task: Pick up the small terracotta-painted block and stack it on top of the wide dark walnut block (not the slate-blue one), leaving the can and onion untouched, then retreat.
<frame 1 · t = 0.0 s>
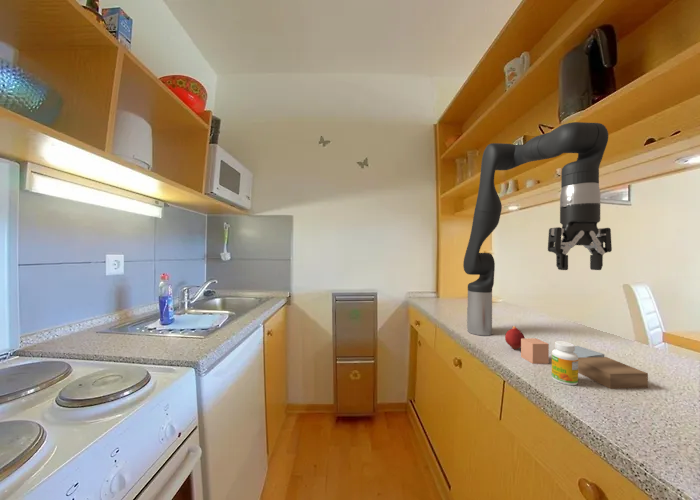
hand: (579, 269, 65), 29 cm above the worktop, fingers open, 8 cm apart
supplement bottle: (564, 381, 69), on the worktop
terracotta block: (534, 360, 82), on the worktop
onion: (514, 349, 91), on the worktop
walnut block: (608, 379, 70), on the worktop
slate block: (582, 364, 80), on the worktop
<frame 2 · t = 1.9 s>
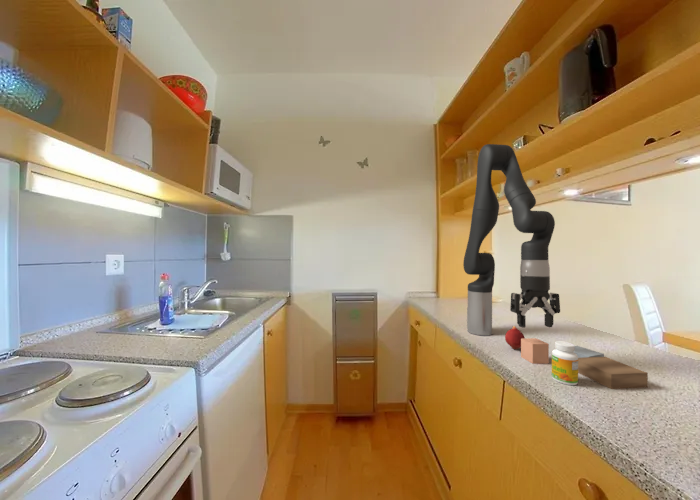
hand: (535, 326, 81), 10 cm above the worktop, fingers open, 8 cm apart
nothing on the worktop moved.
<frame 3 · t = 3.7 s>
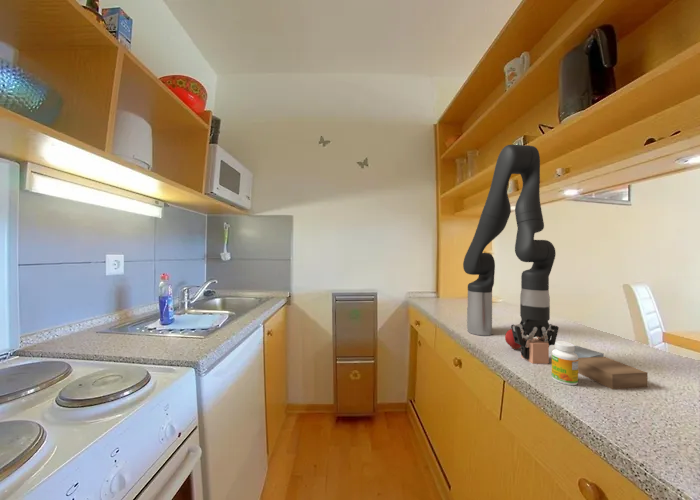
hand: (534, 358, 82), 1 cm above the worktop, fingers closed on terracotta block, 5 cm apart
terracotta block: (534, 360, 82), on the worktop, touching gripper
everything else where it was.
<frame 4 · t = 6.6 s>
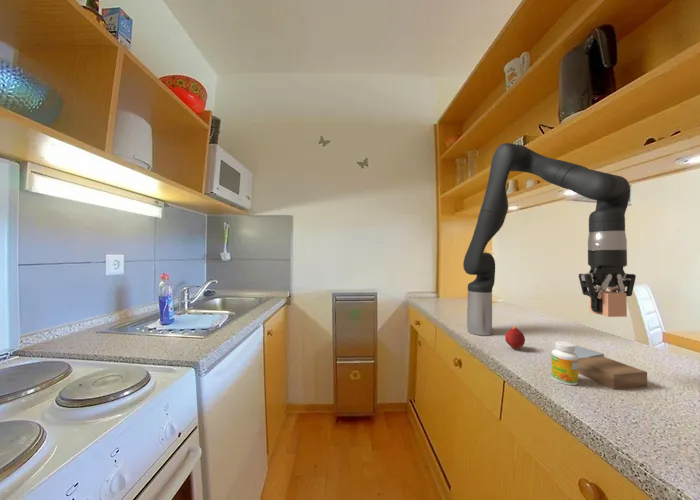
hand: (607, 311, 70), 18 cm above the worktop, fingers closed on terracotta block, 5 cm apart
terracotta block: (607, 314, 70), point 17 cm above the worktop, touching gripper
everything else where it was.
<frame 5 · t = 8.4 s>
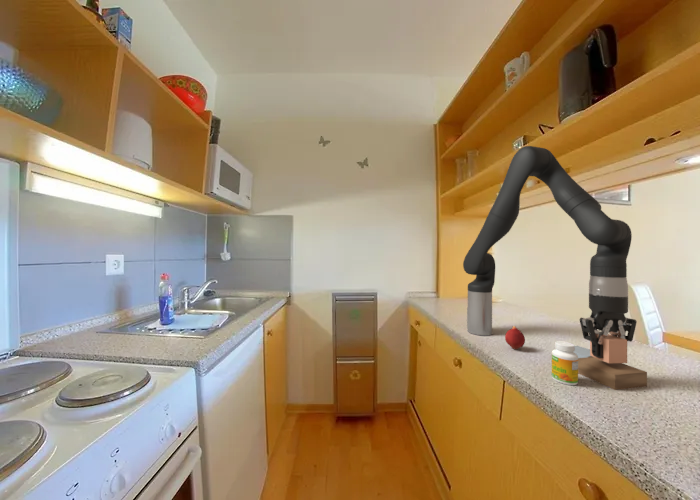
hand: (607, 356, 70), 6 cm above the worktop, fingers closed on terracotta block, 5 cm apart
terracotta block: (608, 359, 70), point 5 cm above the worktop, touching gripper
everything else where it was.
when the fingers open (6 cm above the worktop, at t = 9.5 s): terracotta block drops 1 cm, resting on walnut block.
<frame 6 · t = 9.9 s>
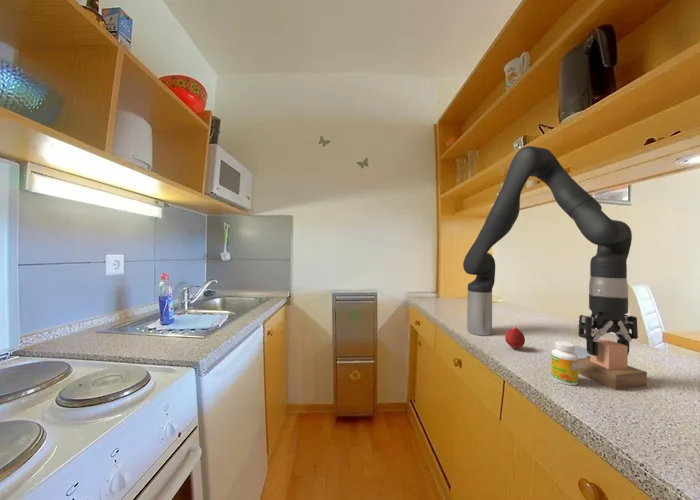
hand: (607, 354, 70), 6 cm above the worktop, fingers open, 8 cm apart
terracotta block: (608, 365, 70), point 4 cm above the worktop, touching walnut block
walnut block: (608, 380, 70), on the worktop, touching terracotta block
everything else where it was.
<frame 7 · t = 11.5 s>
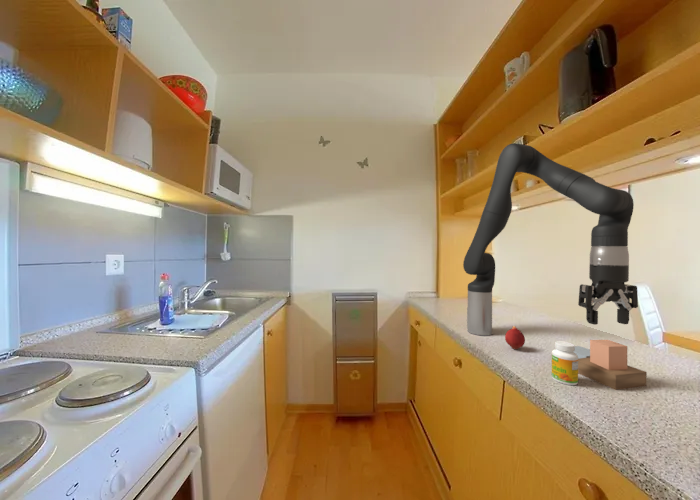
hand: (607, 323, 70), 15 cm above the worktop, fingers open, 8 cm apart
nothing on the worktop moved.
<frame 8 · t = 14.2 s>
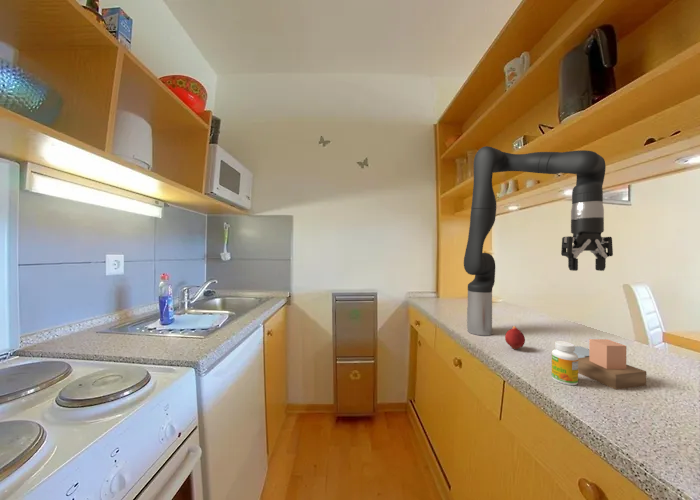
hand: (586, 270, 81), 28 cm above the worktop, fingers open, 8 cm apart
terracotta block: (607, 364, 70), point 4 cm above the worktop
walnut block: (608, 379, 70), on the worktop
everything else where it was.
at the end: terracotta block inside the target area on the walnut block (0.5 cm from its centre), point 4.0 cm above the walnut block's base; terracotta block tilted 0°; the gripper is holding nothing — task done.
